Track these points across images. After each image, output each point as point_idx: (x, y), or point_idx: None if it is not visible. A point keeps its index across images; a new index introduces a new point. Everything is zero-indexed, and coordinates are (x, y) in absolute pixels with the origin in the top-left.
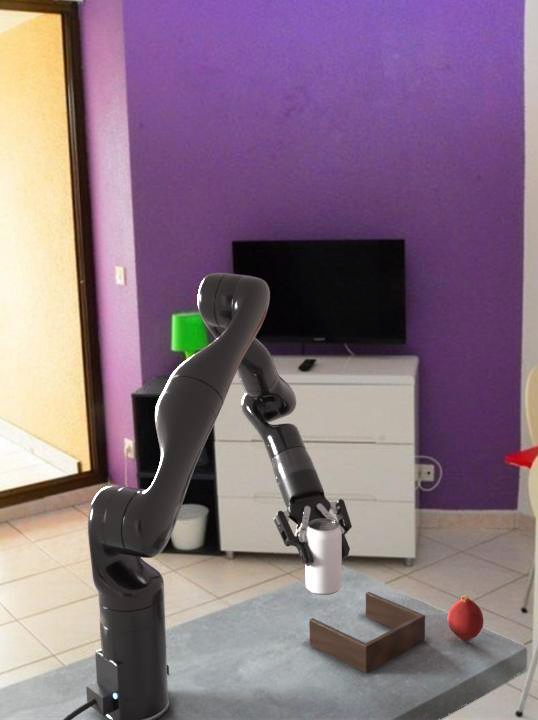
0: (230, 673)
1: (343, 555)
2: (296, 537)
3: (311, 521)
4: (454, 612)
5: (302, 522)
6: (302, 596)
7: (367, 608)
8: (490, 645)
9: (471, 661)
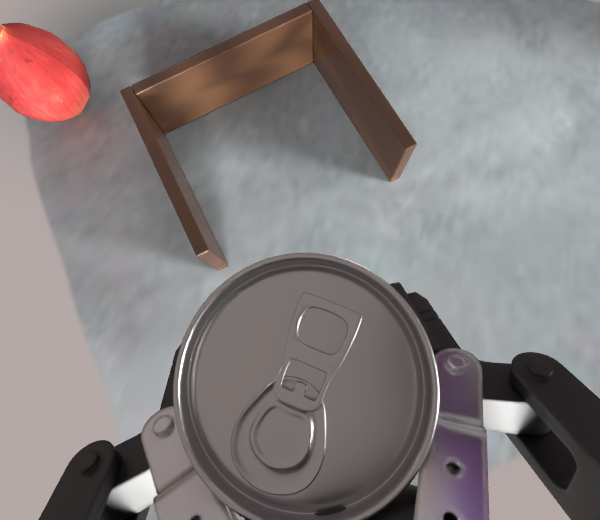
0: (592, 114)
1: None
2: (493, 393)
3: (383, 495)
4: (53, 48)
5: (482, 469)
6: None
7: (219, 254)
8: None
9: (111, 44)
